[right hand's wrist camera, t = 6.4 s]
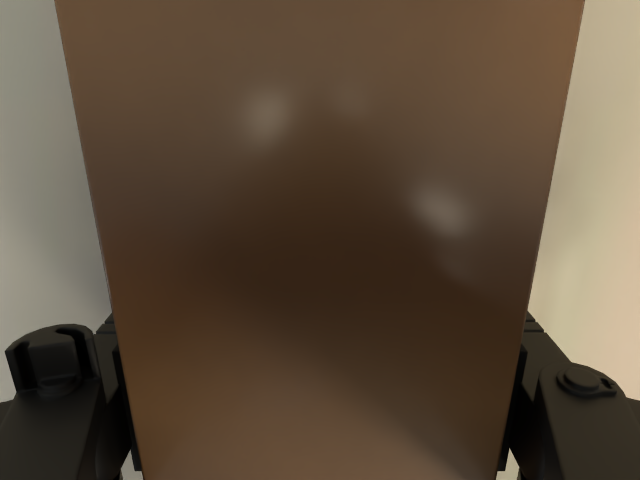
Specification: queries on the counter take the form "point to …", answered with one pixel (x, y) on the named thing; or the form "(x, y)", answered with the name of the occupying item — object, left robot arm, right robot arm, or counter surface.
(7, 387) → the counter surface
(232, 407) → the post
